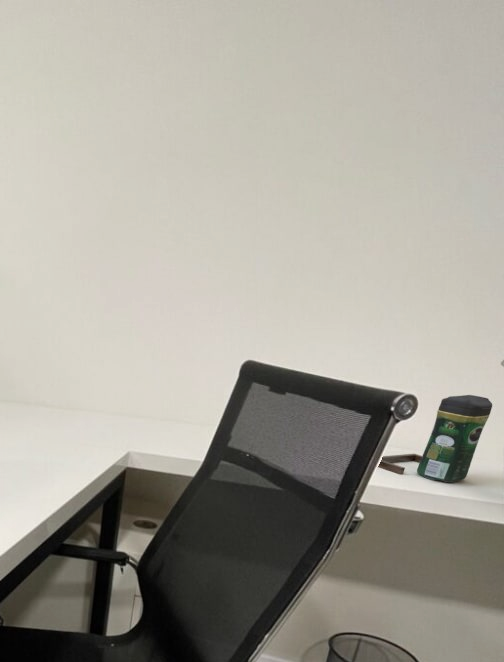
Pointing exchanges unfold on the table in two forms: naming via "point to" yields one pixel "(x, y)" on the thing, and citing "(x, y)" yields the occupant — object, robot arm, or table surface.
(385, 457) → the walnut bay
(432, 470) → the coffee jar
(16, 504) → the table surface
